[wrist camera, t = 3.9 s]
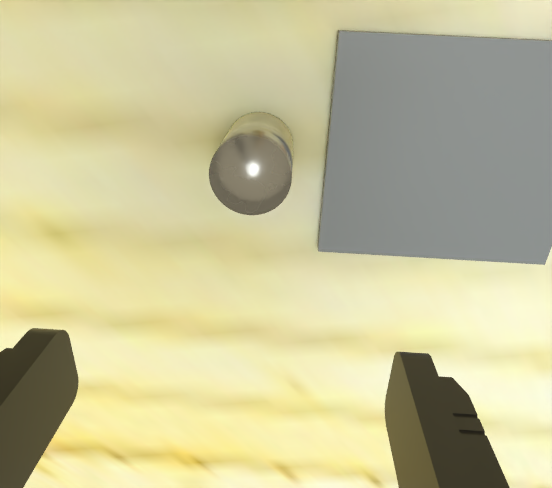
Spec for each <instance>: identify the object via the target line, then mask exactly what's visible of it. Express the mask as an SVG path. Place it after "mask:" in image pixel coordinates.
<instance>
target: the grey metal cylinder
mask: <svg viewBox="0 0 552 488" xmlns="http://www.w3.org/2000/svg"><path fill="white" fill-rule="evenodd" d="M292 161H293V139H292V136H291V133H290V131H289V129H288V127H287V126H286V125H285V124H284V123H283V122H282V121H281V120H280V119H279V118H277V117H276V116H274V115H271V114H269V113H265V112H253V113H249V114H246V115H244V116H242V117H240V118H239V119H238V120H237V121H236V122H235V123H234V124H233V125H232V126H231V128H230V130H229V131H228V133H227V135H226V136H225V138H224V139H223V141H222V143H221V144H220V146H219V148H218V149H217V151H216V153H215V154H214V156H213V158H212V161H211V164H210V169H209V179H210V184H211V187H212V190H213V192H214V193H215V195H216V197H217V198H218V199H219V200H220V201H221V203H223V204H224V205H225V206H226V207H228V208H229V209H231V210H233V211H235V212H238V213H241V214H246V215H258V214H263V213H266V212H269V211H271V210H273V209H274V208H276V207H277V206H278V205H279V204H281V203H282V201H283V200H284V199H285V197H286V196H287V194H288V192H289V189H290V186H291V179H292Z"/></svg>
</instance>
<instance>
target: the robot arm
mask: <svg viewBox="0 0 552 488" xmlns="http://www.w3.org/2000/svg"><path fill="white" fill-rule="evenodd" d="M77 389H78V374H77V370H76V365H75V361H74V356H73V352H72V347H71V343H70V338H69V335H68V333H67V332H66V331H65V330H54V329H38V328H33V329H30V330H29V331H28V332H27V333H26V334H25V335H24V336H23V337H22V338H21V340H20V341H19V342H18V343H17V344H16V345H15V346H14V348H13V349H12V348H6V349H4V350H3V351H1V352H0V488H23V487H24V485H25V483H26V482H27V480H28V478H29V477H30V475H31V473H32V472H33V470H34V468H35V467H36V465H37V463H38V461H39V460H40V458H41V456H42V455H43V453H44V451H45V450H46V448H47V446H48V444H49V443H50V441H51V439H52V438H53V436H54V434H55V433H56V431H57V429H58V428H59V426H60V424H61V422H62V421H63V419H64V417H65V416H66V414H67V412H68V411H69V409H70V407H71V406H72V404H73V402H74V400H75V397H76V394H77ZM385 420H386V427H387V432H388V436H389V441H390V446H391V451H392V456H393V461H394V465H395V470H396V475H397V480H398V485H399V488H509V485H508V483H507V481H506V479H505V476H504V474H503V472H502V470H501V467H500V465H499V463H498V461H497V458H496V456H495V454H494V451H493V449H492V447H491V445H490V442H489V440H488V438H487V436H485V433H484V432H485V431H484V429H483V426H482V424H481V422H480V420H479V419H478V418H477V413H476V411H475V408H474V406H473V404H472V402H471V399H470V397H469V395H468V394H467V393H466V392H465V391H464V390H463V388H462V387H461V386H460V385H459V384H458V383H457V382H456V381H455V380H454V379H453V378H452V377H439V376H438V374H437V371H436V368H435V366H434V363H433V361H432V358H431V356H430V355H429V354H426V353H410V352H396V353H395V356H394V360H393V364H392V369H391V374H390V379H389V384H388V389H387V394H386V400H385Z"/></svg>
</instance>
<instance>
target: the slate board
mask: <svg viewBox="0 0 552 488" xmlns="http://www.w3.org/2000/svg"><path fill="white" fill-rule="evenodd" d="M551 246H552V40H530V39H509V38H488V37H467V36H445V35H424V34H403V33H382V32H361V31H339V30H338V39H337V49H336V60H335V70H334V81H333V91H332V102H331V112H330V123H329V133H328V143H327V154H326V164H325V175H324V185H323V196H322V206H321V217H320V227H319V238H318V251H321V252H338V253H355V254H372V255H389V256H406V257H423V258H440V259H457V260H474V261H491V262H508V263H525V264H543V265H545V263H546V260H547V257H548V255H549V252H550V249H551Z"/></svg>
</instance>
